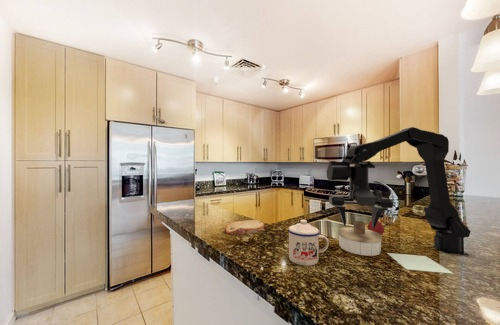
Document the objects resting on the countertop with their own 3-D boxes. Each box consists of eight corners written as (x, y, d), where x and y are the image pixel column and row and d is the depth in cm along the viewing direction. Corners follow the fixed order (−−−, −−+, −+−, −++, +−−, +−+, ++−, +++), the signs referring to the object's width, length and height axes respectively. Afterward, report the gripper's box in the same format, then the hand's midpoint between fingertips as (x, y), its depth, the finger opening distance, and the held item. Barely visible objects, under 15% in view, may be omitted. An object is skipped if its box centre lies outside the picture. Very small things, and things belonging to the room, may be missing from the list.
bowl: (371, 244, 75) (371, 232, 75) (387, 258, 63) (387, 243, 63) (336, 241, 77) (336, 229, 77) (345, 255, 65) (345, 240, 65)
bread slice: (263, 224, 101) (263, 217, 101) (267, 236, 83) (267, 227, 83) (227, 224, 101) (227, 216, 101) (223, 236, 83) (223, 226, 83)
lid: (372, 232, 75) (372, 218, 75) (389, 244, 62) (389, 228, 62) (334, 229, 77) (334, 216, 78) (344, 241, 65) (344, 225, 65)
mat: (425, 257, 64) (425, 256, 64) (453, 275, 53) (453, 273, 53) (386, 254, 66) (386, 252, 66) (406, 270, 55) (406, 269, 55)
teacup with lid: (290, 266, 57) (290, 223, 57) (285, 252, 66) (286, 216, 66) (334, 267, 56) (334, 225, 57) (323, 254, 66) (323, 217, 66)
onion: (387, 240, 80) (387, 219, 80) (372, 240, 80) (372, 219, 80) (378, 235, 85) (378, 216, 86) (364, 235, 86) (364, 216, 86)
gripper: (335, 181, 64) (335, 231, 64) (401, 183, 61) (402, 236, 60) (328, 180, 75) (328, 222, 75) (384, 181, 72) (384, 226, 71)
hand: (359, 226), depth 70 cm, fingers open, 9 cm apart
